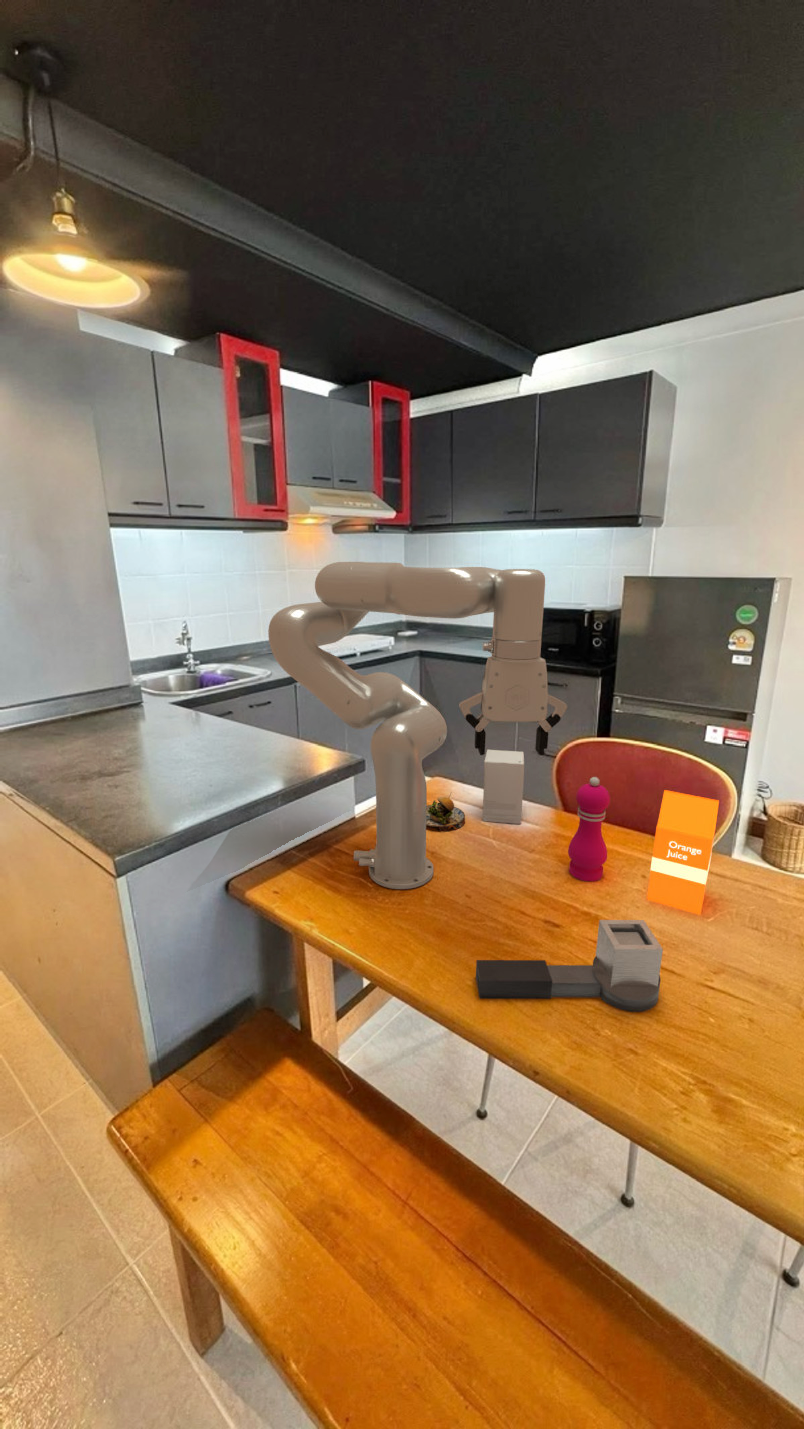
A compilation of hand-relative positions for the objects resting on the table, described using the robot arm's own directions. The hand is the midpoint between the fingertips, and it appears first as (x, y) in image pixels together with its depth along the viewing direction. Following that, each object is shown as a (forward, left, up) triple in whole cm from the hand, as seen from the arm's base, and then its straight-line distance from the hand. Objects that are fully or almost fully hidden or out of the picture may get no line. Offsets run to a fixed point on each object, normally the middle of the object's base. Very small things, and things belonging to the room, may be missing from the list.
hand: (510, 752), depth 95 cm
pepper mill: (+18, +10, -28) cm, 35 cm away
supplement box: (+6, +36, -28) cm, 46 cm away
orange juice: (+32, +2, -28) cm, 43 cm away
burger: (-9, +33, -29) cm, 45 cm away
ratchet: (+6, -21, -28) cm, 36 cm away
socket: (+14, -21, -25) cm, 36 cm away
